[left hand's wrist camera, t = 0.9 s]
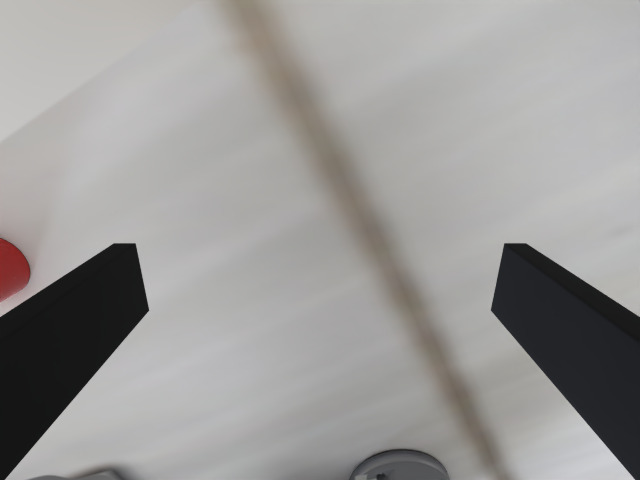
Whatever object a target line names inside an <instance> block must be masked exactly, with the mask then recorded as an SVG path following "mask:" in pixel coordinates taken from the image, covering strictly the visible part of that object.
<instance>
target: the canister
mask: <svg viewBox="0 0 640 480" xmlns="http://www.w3.org/2000/svg"><path fill="white" fill-rule="evenodd" d="M29 278H30V269H29V265H28V262H27V260H26V259H25V257H24V256H23V254H22V253H21V252H20V251H19V250H18V249H17V248H16V247H15V246H14V245H12V244H11V243H9V242H7V241H5V240H3V239H1V238H0V302H2V301H3V300H5V299H7V298H8V297H10V296H12V295H13V294H15V293H17V292H18V291H20V290H22V289H23V288H24V287H25V286H26V285H27V283H28V281H29Z"/></svg>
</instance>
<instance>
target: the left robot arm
mask: <svg viewBox="0 0 640 480" xmlns="http://www.w3.org/2000/svg"><path fill="white" fill-rule="evenodd" d="M148 311H149V307H148V302H147V298H146V293H145V288H144V283H143V278H142V273H141V268H140V263H139V258H138V253H137V248H136V243H114V244H112V245H111V246H109V247H108V248H106V249H105V250H103V251H102V252H100V253H99V254H97V255H95V256H94V257H92V258H91V259H89V260H88V261H86V262H85V263H83V264H82V265H80V266H78V267H77V268H75V269H74V270H72V271H71V272H69V273H68V274H66V275H65V276H63V277H61V278H60V279H58V280H57V281H55V282H54V283H52V284H51V285H49V286H48V287H46V288H45V289H43V290H41V291H40V292H38V293H37V294H35V295H34V296H32V297H31V298H29V299H28V300H26V301H24V302H23V303H21V304H20V305H18V306H17V307H15V308H14V309H12V310H11V311H9V312H7V313H6V314H4V315H3V316H1V317H0V480H5V479H6V478H7V476H8V475H9V474H10V473H11V472H12V471H13V469H14V468H15V467H16V466H17V465H18V464H19V462H20V461H21V460H22V459H23V458H24V456H25V455H26V454H27V453H28V452H29V451H30V449H31V448H32V447H33V446H34V445H35V444H36V442H37V441H38V440H39V439H40V438H41V437H42V435H43V434H44V433H45V432H46V431H47V430H48V428H49V427H50V426H51V425H52V424H53V422H54V421H55V420H56V419H57V418H58V417H59V415H60V414H61V413H62V412H63V411H64V410H65V408H66V407H67V406H68V405H69V404H70V403H71V401H72V400H73V399H74V398H75V397H76V396H77V394H78V393H79V392H80V391H81V390H82V388H83V387H84V386H85V385H86V384H87V383H88V381H89V380H90V379H91V378H92V377H93V376H94V374H95V373H96V372H97V371H98V370H99V369H100V367H101V366H102V365H103V364H104V363H105V362H106V360H107V359H108V358H109V357H110V356H111V354H112V353H113V352H114V351H115V350H116V349H117V347H118V346H119V345H120V344H121V343H122V342H123V340H124V339H125V338H126V337H127V336H128V335H129V333H130V332H131V331H132V330H133V329H134V328H135V326H136V325H137V324H138V323H139V322H140V320H141V319H142V318H143V317H144V316H145V315H146V313H147V312H148ZM491 311H492V312H493V313H494V315H495V316H496V317H497V318H498V319H499V320H500V322H501V323H502V324H503V325H504V326H505V328H506V329H507V330H508V331H509V332H510V333H511V335H512V336H513V337H514V338H515V339H516V340H517V342H518V343H519V344H520V345H521V346H522V347H523V349H524V350H525V351H526V352H527V353H528V354H529V356H530V357H531V358H532V359H533V360H534V362H535V363H536V364H537V365H538V366H539V367H540V369H541V370H542V371H543V372H544V373H545V374H546V376H547V377H548V378H549V379H550V380H551V381H552V383H553V384H554V385H555V386H556V387H557V388H558V390H559V391H560V392H561V393H562V394H563V396H564V397H565V398H566V399H567V400H568V401H569V403H570V404H571V405H572V406H573V407H574V408H575V410H576V411H577V412H578V413H579V414H580V415H581V417H582V418H583V419H584V420H585V421H586V422H587V424H588V425H589V426H590V427H591V428H592V430H593V431H594V432H595V433H596V434H597V435H598V437H599V438H600V439H601V440H602V441H603V442H604V444H605V445H606V446H607V447H608V448H609V449H610V451H611V452H612V453H613V454H614V455H615V456H616V458H617V459H618V460H619V461H620V462H621V464H622V465H623V466H624V467H625V468H626V469H627V471H628V472H629V473H630V474H631V475H632V476H633V478H634V479H635V480H640V317H639V316H637V315H636V314H634V313H633V312H631V311H629V310H628V309H626V308H625V307H623V306H622V305H620V304H619V303H617V302H616V301H614V300H612V299H611V298H609V297H608V296H606V295H605V294H603V293H602V292H600V291H599V290H597V289H595V288H594V287H592V286H591V285H589V284H588V283H586V282H585V281H583V280H582V279H580V278H579V277H577V276H575V275H574V274H572V273H571V272H569V271H568V270H566V269H565V268H563V267H562V266H560V265H558V264H557V263H555V262H554V261H552V260H551V259H549V258H548V257H546V256H545V255H543V254H541V253H540V252H538V251H537V250H535V249H534V248H532V247H531V246H529V245H528V244H526V243H504V248H503V253H502V258H501V263H500V268H499V273H498V278H497V283H496V288H495V293H494V298H493V302H492V307H491ZM350 480H450V479H449V477H448V474H447V471H446V470H445V468H444V467H443V465H442V464H441V463H440V462H438V461H437V460H436V459H434V458H433V457H431V456H429V455H426V454H423V453H420V452H416V451H408V450H397V451H389V452H385V453H381V454H378V455H376V456H373V457H371V458H369V459H368V460H366V461H364V462H363V463H362V464H361V465H359V466H358V467H357V468H356V470H355V471H354V472H353V474H352V476H351V478H350Z"/></svg>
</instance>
